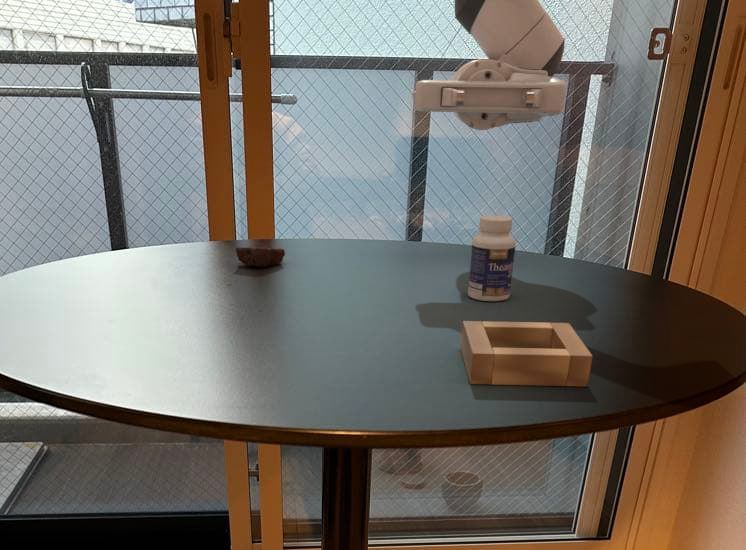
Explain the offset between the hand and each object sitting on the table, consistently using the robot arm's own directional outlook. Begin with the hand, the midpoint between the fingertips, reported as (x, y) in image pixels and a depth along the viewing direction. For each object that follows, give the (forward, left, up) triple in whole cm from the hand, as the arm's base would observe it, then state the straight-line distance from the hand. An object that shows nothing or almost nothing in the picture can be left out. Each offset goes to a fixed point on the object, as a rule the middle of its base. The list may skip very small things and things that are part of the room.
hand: (495, 98), depth 103 cm
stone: (+32, -5, -22) cm, 39 cm away
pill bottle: (0, +12, -22) cm, 26 cm away
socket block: (0, +40, -22) cm, 46 cm away
